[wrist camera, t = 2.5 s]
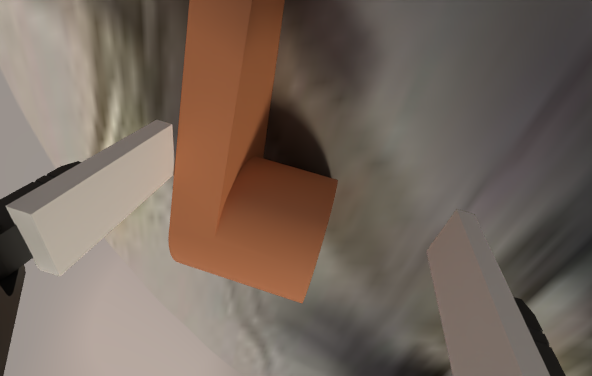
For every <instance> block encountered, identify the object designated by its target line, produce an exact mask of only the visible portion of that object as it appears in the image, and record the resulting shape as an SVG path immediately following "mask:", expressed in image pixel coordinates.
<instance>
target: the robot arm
mask: <svg viewBox="0 0 592 376" xmlns="http://www.w3.org/2000/svg"><path fill="white" fill-rule="evenodd" d="M174 171H175V163H174V146H173V128H172V124H170V123H167V122H164V121H160V120H155V121H153V122H151V123H150V124H148V125H146V126H144V127H143V128H141V129H139V130H137V131H136V132H134V133H132V134H130V135H129V136H127V137H125V138H123V139H122V140H120V141H118V142H116V143H115V144H113V145H111V146H109V147H108V148H106V149H104V150H102V151H101V152H99V153H97V154H95V155H94V156H92V157H90V158H88V159H87V160H85V161H83V162H79V161H77V162H74V163H71V164H67V165H64V166H61V167H59V168H57V169H55V170H54V171H52V172H50V173H48V174H47V176H42V177H41V178H39V179H37V180H36V181H35V182H31V183H30V184H28V185H26V186H24V187H22V188H21V189H19V190H17V191H15V192H13V193H11V194H10V195H8V196H6V197H4V198H2V199H0V376H3V374H4V370H5V365H6V361H7V356H8V351H9V347H10V342H11V337H12V333H13V328H14V324H15V319H16V315H17V310H18V305H19V301H20V296H21V291H22V287H23V282H24V278H25V273H26V272H25V267H24V264H25V263H26V262H28V261H29V260H30V259H31V258H33V259H34V261H35V263H36V265H37V267H38V269H39V270H42V271H45V272H48V273H51V274H54V275H57V276H61V275H62V274H64V273H65V272H66V271H67V270H68V269H69V268H70V267H71V266H73V264H75V263H76V262H77V261H78V260H79V259H80V258H81V257H82V256H84V255H85V254H86V253H87V252H88V251H89V250H90V249H91V248H92V247H94V246H95V245H96V244H97V243H98V242H99V241H100V240H101V239H103V238H104V237H105V236H106V235H107V234H108V233H109V232H110V231H112V230H113V229H114V228H115V227H116V226H117V225H118V224H119V223H120V222H122V221H123V220H124V219H125V218H126V217H127V216H128V215H129V214H130V213H132V212H133V211H134V210H135V209H136V208H137V207H138V206H139V205H140V204H142V203H143V202H144V201H145V200H146V199H147V198H148V197H149V196H150V195H152V194H153V193H154V192H155V191H156V190H157V189H158V188H159V187H160V186H162V185H163V184H164V183H165V182H166V181H167V180H168V179H169V178H171V177H172V176H173V175H174ZM427 256H428V261H429V265H430V270H431V275H432V280H433V284H434V289H435V294H436V298H437V303H438V308H439V313H440V317H441V322H442V327H443V331H444V336H445V341H446V345H447V350H448V355H449V360H450V364H451V369H452V374H453V376H565V374H564V372H563V370H562V368H561V366H560V364H559V362H558V360H557V358H556V356H555V354H554V352H553V350H552V348H551V347H549V342H548V340H547V338H546V336H545V334H543V333H542V331H543V330H542V328H541V326H540V324H539V323H538V321H537V319H536V317H535V315H534V314H533V312H532V311H531V310H530V309H529V308H528V306H527V305H526V304H525V303H524V302H523V300H522V299H518V298H515V297H513V295H512V293H511V291H510V289H509V287H508V285H507V283H506V280H505V278H504V276H503V274H502V272H501V270H500V268H499V266H498V263H497V261H496V259H495V257H494V255H493V253H492V251H491V248H490V246H489V244H488V242H487V240H486V238H485V236H484V233H483V231H482V229H481V227H480V225H479V223H478V221H477V219H476V216H475V214H472V213H469V212H465V211H462V210H458V209H456V211H455V212H454V214H453V215H452V216H451V218H450V219H449V220H448V222H447V223H446V225H445V226H444V227H443V229H442V230H441V232H440V233H439V234H438V236H437V237H436V239H435V240H434V241H433V243H432V244H431V246H430V247H429V248H428V250H427Z"/></svg>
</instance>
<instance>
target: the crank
mask: <svg viewBox="0 0 592 376" xmlns="http://www.w3.org/2000/svg"><path fill="white" fill-rule="evenodd" d="M284 2H285V0H190V1H189V12H188V23H187V35H186V46H185V58H184V69H183V80H182V92H181V103H180V114H179V126H178V137H177V149H176V160H175V171H174V183H173V194H172V205H171V217H170V227H169V249H170V253H171V256H172V257H173V259H174V260H175V261H176V262H179V263H182V264H185V265H188V266H191V267H194V268H197V269H200V270H203V271H206V272H209V273H212V274H215V275H218V276H221V277H224V278H227V279H230V280H233V281H236V282H239V283H242V284H245V285H248V286H251V287H254V288H257V289H260V290H263V291H266V292H269V293H272V294H275V295H278V296H281V297H284V298H287V299H290V300H293V301H296V302H299V303H303V301H304V298H305V296H306V293H307V290H308V287H309V284H310V281H311V278H312V275H313V272H314V269H315V266H316V262H317V259H318V256H319V252H320V249H321V245H322V242H323V239H324V235H325V231H326V228H327V224H328V221H329V217H330V213H331V209H332V205H333V201H334V197H335V193H336V188H337V183H338V180H336V179H333V178H329V177H326V176H322V175H319V174H315V173H312V172H309V171H305V170H302V169H298V168H295V167H291V166H288V165H284V164H281V163H277V162H274V161H271V160H267V159H264V158H263V155H264V148H265V141H266V134H267V126H268V119H269V112H270V104H271V97H272V90H273V82H274V75H275V68H276V60H277V53H278V46H279V39H280V31H281V24H282V17H283V9H284Z"/></svg>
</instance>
